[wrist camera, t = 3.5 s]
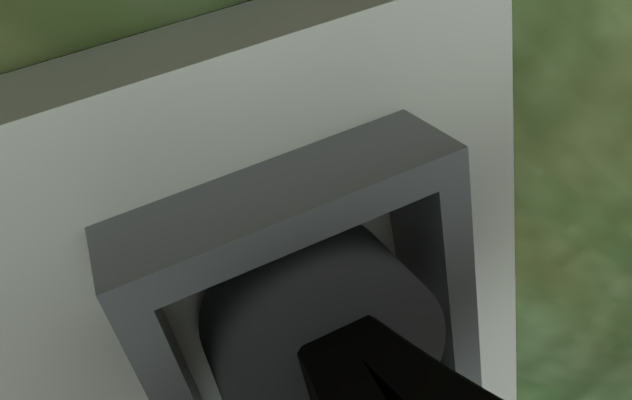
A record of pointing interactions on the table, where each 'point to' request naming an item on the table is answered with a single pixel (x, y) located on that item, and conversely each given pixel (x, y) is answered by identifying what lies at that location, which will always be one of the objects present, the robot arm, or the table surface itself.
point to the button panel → (251, 183)
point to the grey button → (309, 312)
